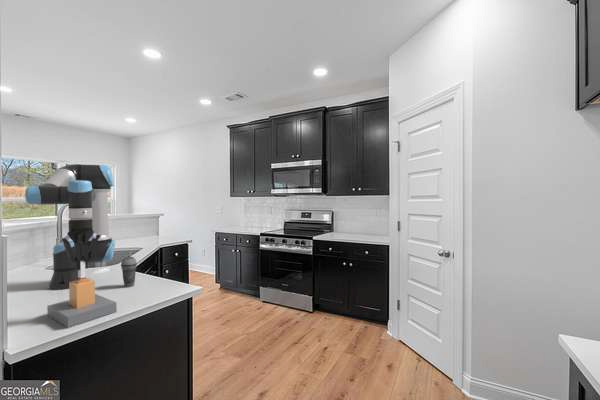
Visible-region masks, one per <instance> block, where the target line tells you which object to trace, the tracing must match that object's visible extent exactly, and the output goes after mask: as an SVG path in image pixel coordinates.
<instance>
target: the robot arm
mask: <svg viewBox="0 0 600 400" xmlns="http://www.w3.org/2000/svg"><path fill="white" fill-rule="evenodd" d="M114 185H115V184H114V177H113V172H112V169H111V167H110V166H109V165H103V164H79V163H74V164H68V165H64V166H62V167H59V168H57V169H55V170H54V171H53V172H51V175H50V177H49V178H48V179H47V180H45V181H44V182H43V183H42V184H40V185H30V186H27V187H26V188H25V193H24V197H25V198H24V199H25V202H26V203H27V204H29V205H38V206H40V205H68V210H67V211H68V214H67V215H68V216H67V217H68V232H67V235H65V236H64V237H60V239H59V240H60V243H59V242H58V243H57V244H55V245H54V246H53V247H52V249H53V250H52V251H53V252H52V261H53V262H52V263H53V273H52V277H51V279H50V281H49V285H48V286H49V289H50V290H65V289H69V282H73V281H75V280H80V279H84V278H86V279H87V277H86V269H89V264H94V263H95V264H97V263H105V262H110V261H111V260H112V259H113V257H114V252H115V246H116V243H115V242H116V241H115V240H113V237H112V236H111V235H110V234H109V205H108V204H109V203H108V200H109V199H108V193H109V192H110V191H111V188H112V187H114Z"/></svg>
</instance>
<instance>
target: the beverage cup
mask: <svg viewBox="0 0 600 400" xmlns="http://www.w3.org/2000/svg"><path fill="white" fill-rule="evenodd" d="M120 263H121V264H120V266H121V267H120V268H121V272H122V279H123V280H122V281H123V286H124V288H131V287H134V286H135V281H136V272H137V271H136V269H137V264H138V261H137V259H136V258H135V257H134V256H132V247H130V251H129V256H126V257H124V258H123V259H122V260H121V262H120Z"/></svg>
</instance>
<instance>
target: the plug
mask: <svg viewBox="0 0 600 400" xmlns="http://www.w3.org/2000/svg"><path fill="white" fill-rule="evenodd" d="M95 284H96V283H95V280H93V279H90V278H87V277H86V278H84V279H80V280H75V281H73V282H69V288H68V289H69V294H68V295H69V300H70V305H71V307H75V308H80V307H84V306H87V305H90V304H94V303H95V294H96V289H95V287H96V285H95Z"/></svg>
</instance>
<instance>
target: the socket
mask: <svg viewBox="0 0 600 400" xmlns="http://www.w3.org/2000/svg"><path fill="white" fill-rule="evenodd" d="M117 306H118V305H117V301H114V300H111V299H109V298H106V297H104V296H101V295H100V294H96V293H95V303H94V304H90V305H87V306H84V307H80V308H75V307H71V305H70V299H67V300H64V301H60V302H56V303H52V304H49V305H47V307H46V308H47V310H46V311H47V316H48V317H49V318H51V319H52V318H53V319H52V320H54V321H55V322H57V323H59V324H61V325H62V324H63V325H62V326H63V327H66V328H67V327H68V329H70V328H73V327H75V325H76V326H78V325H82V324H84V323H87V322H91V321H93V320H96V319H100V318H103V317H105V316H108V315H112V314H115V313H117V309H118V308H117ZM72 326H73V327H72ZM69 327H70V328H69Z"/></svg>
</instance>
